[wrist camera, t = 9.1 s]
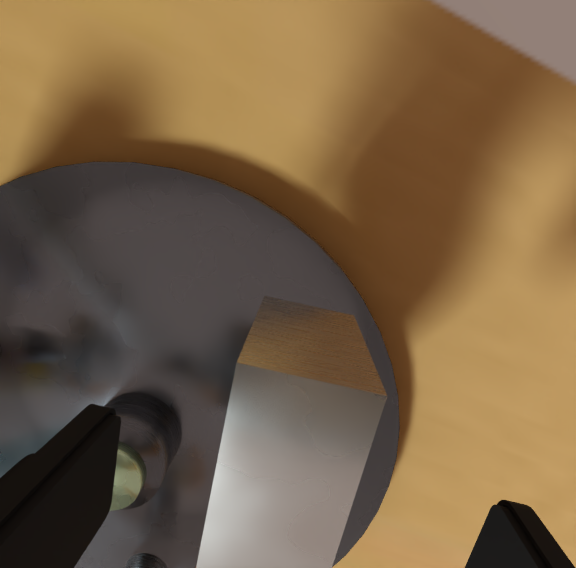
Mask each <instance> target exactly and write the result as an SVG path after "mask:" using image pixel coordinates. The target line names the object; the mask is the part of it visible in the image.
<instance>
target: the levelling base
mask: <svg viewBox="0 0 576 568" xmlns="http://www.w3.org/2000/svg"><path fill="white" fill-rule="evenodd" d="M264 296H269V297H273V298H278V299H282V300H287V301H291V302H296V303H300V304H305V305H309V306H314V307H318V308H323V309H327V310H332V311H336V312H341V313H345V314H350V315H354V317H355V319H356V321H357V324H358V326H359V329H360V331H361V333H362V336H363V338H364V341H365V343H366V346H367V348H368V350H369V353H370V355H371V358H372V360H373V362H374V365H375V367H376V370H377V372H378V375H379V377H380V379H381V382H382V384H383V387H384V389H385V391H386V394H387V399H386V402H385V405H384V408H383V411H382V414H381V417H380V420H379V423H378V426H377V430H376V433H375V436H374V439H373V442H372V445H371V448H370V451H369V454H368V457H367V460H366V464H365V467H364V470H363V473H362V476H361V479H360V482H359V485H358V488H357V491H356V495H355V498H354V501H353V504H352V507H351V510H350V513H349V516H348V519H347V522H346V525H345V529H344V532H343V535H342V538H341V541H340V544H339V547H338V550H337V553H336V556H335V560H334V563H333V566H334V565H335V564H336V563H337V562H339V561H340V560H341V559H342V558H343V557H344V556H345V555H346V554H347V553H348V552H349V551H350V549H351V548H352V547H353V546H354V545H355V544H356V542H357V541H358V540H359V539H360V538H361V537H362V535H363V534H364V532H365V531H366V529H367V528H368V526H369V524H370V523H371V521H372V520H373V518H374V517H375V515H376V513H377V512H378V510H379V507H380V505H381V503H382V500H383V498H384V496H385V494H386V491H387V489H388V487H389V484H390V480H391V476H392V472H393V469H394V465H395V461H396V457H397V447H398V438H399V429H400V427H399V405H398V394H397V389H396V383H395V378H394V373H393V368H392V364H391V361H390V358H389V356H388V353H387V350H386V347H385V344H384V341H383V339H382V336H381V333H380V331H379V329H378V327H377V325H376V323H375V321H374V320H373V318H372V316H371V314H370V312H369V310H368V308H367V306H366V304H365V302H364V301H363V299H362V297H361V295H360V294H359V292H358V291H357V289H356V288H355V287H354V285H353V284H352V282H351V281H350V280H349V278H348V277H347V275H346V274H345V273H344V271H343V270H342V268H341V267H340V266H339V265H338V263H337V262H336V261H335V260H334V259H333V258H332V257H331V256H330V255H329V254H328V253H327V252H326V251H325V250H324V249H323V248H322V246H321V245H320V244H319V243H318V242H317V241H316V240H315V239H314V238H312V237H311V236H310V235H309V234H308V233H306V232H305V231H304V230H303V229H301V228H300V227H299V226H298V225H296V224H295V223H294V222H293V221H292V220H290V219H289V218H288V217H287V216H285V215H283V214H282V213H280V212H278V211H277V210H275V209H274V208H272V207H270V206H269V205H267V204H265V203H264V202H262V201H261V200H259V199H257V198H256V197H254V196H252V195H249V194H247V193H245V192H243V191H240V190H238V189H236V188H234V187H231V186H229V185H227V184H225V183H222V182H220V181H217V180H213V179H210V178H207V177H203V176H200V175H196V174H193V173H190V172H186V171H182V170H178V169H173V168H167V167H160V166H154V165H147V164H141V163H134V162H89V163H82V164H74V165H66V166H59V167H54V168H50V169H47V170H43V171H40V172H36V173H33V174H29V175H26V176H22V177H19V178H17V179H15V180H13V181H11V182H9V183H7V184H4V185H2V186H0V345H1V350H2V354H1V359H0V478H1V477H2V476H3V475H4V474H5V473H6V472H7V471H9V470H10V469H11V468H12V467H13V466H14V465H15V464H16V463H18V462H19V461H20V460H21V459H23V458H24V457H25V456H27V455H29V454H32V453H34V454H35V453H36V452H37V451H38V450H39V449H40V448H42V447H43V446H44V445H45V444H46V443H47V442H48V441H49V440H50V439H51V438H53V437H54V436H55V435H56V434H57V433H58V432H59V431H60V430H61V429H62V428H64V427H65V426H66V425H67V424H68V423H69V422H70V421H71V420H72V419H73V418H75V417H76V416H77V415H78V414H79V413H80V412H81V411H82V410H83V409H84V408H86V407H87V406H88V405H90V404H96V405H100V406H104V407H109V408H113V409H115V411H116V416H119V417H121V427H120V436H119V444H118V453H117V461H116V470H115V478H114V487H113V495H112V503H111V507H110V510H109V513H108V515H107V517H106V519H105V521H104V522H103V524H102V525H101V527H100V529H99V530H98V532H97V533H96V535H95V536H94V538H93V539H92V541H91V542H90V544H89V546H88V547H87V549H86V550H85V552H84V553H83V555H82V556H81V558H80V559H79V561H78V562H77V564H76V566H75V567H74V568H124V567H125V565H126V563H127V561H128V560H129V558H130V557H132V556H133V555H135V554H138V553H149V554H153V555H155V556H157V557H159V558H160V559H162V560H163V561H164V562H165V564H166V566H167V568H196V565H197V560H198V555H199V550H200V545H201V540H202V535H203V530H204V525H205V520H206V515H207V510H208V505H209V500H210V495H211V489H212V484H213V479H214V474H215V469H216V464H217V459H218V454H219V449H220V444H221V439H222V434H223V429H224V424H225V418H226V413H227V408H228V403H229V398H230V393H231V388H232V383H233V378H234V373H235V368H236V363H237V360H238V358H239V355H240V353H241V351H242V348H243V346H244V344H245V341H246V339H247V336H248V334H249V332H250V329H251V327H252V324H253V322H254V320H255V317H256V315H257V312H258V310H259V308H260V305H261V303H262V300H263V298H264ZM333 566H332V567H333Z"/></svg>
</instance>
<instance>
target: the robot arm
mask: <svg viewBox="0 0 576 568" xmlns="http://www.w3.org/2000/svg"><path fill="white" fill-rule="evenodd" d="M120 427H121V417H119V416H116V411H115V409H113V408H109V407H104V406H100V405H96V404H90V405H88V406H87V407H86V408H84V409H83V410H82V411H81V412H80V413H79V414H78V415H77V416H76V417H75V418H73V419H72V420H71V421H70V422H69V423H68V424H67V425H66V426H65V427H64V428H62V429H61V430H60V431H59V432H58V433H57V434H56V435H55V436H54V437H53V438H51V439H50V440H49V441H48V442H47V443H46V444H45V445H44V446H43V447H42V448H40V449H39V450H38V451H37V452H36V453H35V454H34V453H32V454H29V455H27V456H25V457H24V458H23V459H21V460H20V461H19V462H18V463H16V464H15V465H14V466H13V467H12V468H11V469H10V470H9V471H7V472H6V473H5V474H4V475H3V476H2V477H1V478H0V568H74V567H75V566H76V564H77V562H78V561H79V559H80V558H81V556H82V555H83V553H84V552H85V550H86V549H87V547H88V546H89V544H90V542H91V541H92V539H93V538H94V536H95V535H96V533H97V532H98V530H99V529H100V527H101V525H102V524H103V522H104V521H105V519H106V517H107V515H108V513H109V510H110V507H111V503H112V495H113V487H114V478H115V470H116V461H117V453H118V444H119V436H120ZM465 568H575V567H574V566H573V564H572V563H571V561H570V560H569V559H568V557H567V556H566V554H565V553H564V552H563V550H562V549H561V548H560V546H559V545H558V543H557V542H556V541H555V539H554V538H553V536H552V535H551V534H550V532H549V531H548V530H547V528H546V527H545V525H544V524H543V523H542V521H541V520H540V518H539V517H538V516H537V514H536V513H535V512H534V510H533V509H532V508H531V507H529V506H527V505H524V504H520V503H516V502H511V501H507V500H501V501H499V502H498V504H497V505H493V506H492V507H491V509H490V511H489V513H488V516H487V518H486V520H485V523H484V525H483V527H482V529H481V532H480V534H479V536H478V539H477V541H476V543H475V546H474V548H473V550H472V552H471V555H470V557H469V559H468V562H467V564H466V566H465Z"/></svg>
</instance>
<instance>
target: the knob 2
mask: <svg viewBox="0 0 576 568" xmlns="http://www.w3.org/2000/svg"><path fill="white" fill-rule="evenodd" d="M386 399H387V394H386V391H385V389H384V387H383V384H382V382H381V379H380V377H379V375H378V372H377V370H376V367H375V365H374V362H373V360H372V358H371V355H370V353H369V350H368V348H367V346H366V343H365V341H364V338H363V336H362V333H361V331H360V329H359V326H358V324H357V321H356V319H355V317H354V315H350V314H345V313H341V312H336V311H332V310H327V309H323V308H318V307H314V306H309V305H305V304H300V303H296V302H291V301H287V300H282V299H278V298H273V297H269V296H264V298H263V300H262V303H261V305H260V308H259V310H258V312H257V315H256V317H255V320H254V322H253V324H252V327H251V329H250V332H249V334H248V336H247V339H246V341H245V344H244V346H243V348H242V351H241V353H240V355H239V358H238V360H237V363H236V368H235V373H234V378H233V383H232V388H231V393H230V398H229V403H228V408H227V413H226V418H225V424H224V429H223V434H222V439H221V444H220V449H219V454H218V459H217V464H216V469H215V474H214V479H213V484H212V489H211V495H210V500H209V505H208V510H207V515H206V520H205V525H204V530H203V535H202V540H201V545H200V550H199V555H198V560H197V565H196V568H332V566H333V563H334V560H335V556H336V553H337V550H338V547H339V544H340V541H341V538H342V535H343V532H344V529H345V525H346V522H347V519H348V516H349V513H350V510H351V507H352V504H353V501H354V498H355V495H356V491H357V488H358V485H359V482H360V479H361V476H362V473H363V470H364V467H365V464H366V460H367V457H368V454H369V451H370V448H371V445H372V442H373V439H374V436H375V433H376V430H377V426H378V423H379V420H380V417H381V414H382V411H383V408H384V405H385V402H386Z"/></svg>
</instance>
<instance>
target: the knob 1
mask: <svg viewBox="0 0 576 568" xmlns="http://www.w3.org/2000/svg"><path fill="white" fill-rule="evenodd" d="M124 568H167V566H166V564H165V562H164V561H163V560H162V559H160V558H159V557H157V556H155V555H153V554H149V553H138V554H135V555H133V556H132V557H130V558H129V560H128V561H127V563H126V565H125V567H124Z"/></svg>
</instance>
